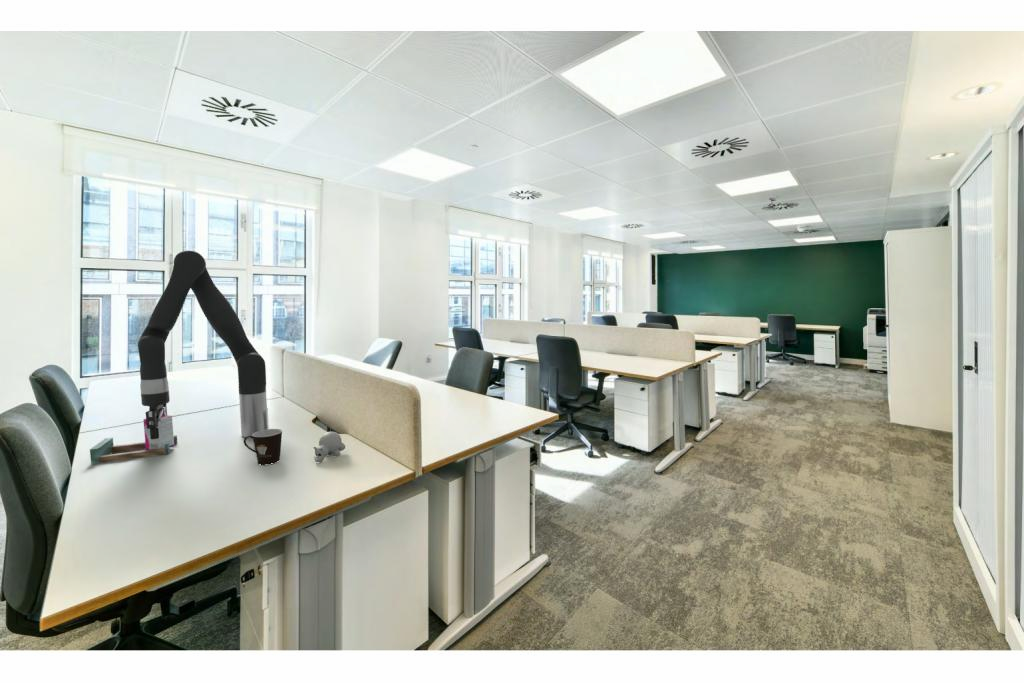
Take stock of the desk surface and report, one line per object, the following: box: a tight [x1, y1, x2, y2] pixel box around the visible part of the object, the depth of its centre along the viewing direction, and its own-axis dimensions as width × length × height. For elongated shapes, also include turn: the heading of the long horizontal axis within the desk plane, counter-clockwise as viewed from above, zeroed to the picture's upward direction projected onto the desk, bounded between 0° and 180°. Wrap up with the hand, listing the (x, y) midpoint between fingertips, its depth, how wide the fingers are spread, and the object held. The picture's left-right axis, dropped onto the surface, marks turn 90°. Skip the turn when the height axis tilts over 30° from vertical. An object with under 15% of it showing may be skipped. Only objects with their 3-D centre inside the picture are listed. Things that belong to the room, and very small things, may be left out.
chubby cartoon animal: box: [313, 431, 346, 463], centre depth 141 cm, size 7×12×8 cm, turn 162°
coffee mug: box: [243, 428, 283, 466], centre depth 138 cm, size 12×9×10 cm
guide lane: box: [89, 434, 178, 465], centre depth 144 cm, size 20×12×5 cm, turn 117°
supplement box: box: [143, 415, 175, 450], centre depth 147 cm, size 6×6×12 cm
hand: (158, 435), depth 147 cm, fingers closed on supplement box, 8 cm apart
